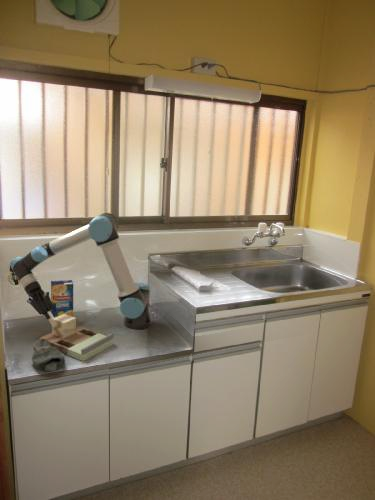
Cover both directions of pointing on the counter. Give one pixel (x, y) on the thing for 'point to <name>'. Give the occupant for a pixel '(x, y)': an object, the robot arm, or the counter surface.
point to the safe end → (90, 346)
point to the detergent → (47, 356)
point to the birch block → (63, 326)
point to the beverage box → (62, 297)
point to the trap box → (69, 339)
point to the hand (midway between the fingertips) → (54, 323)
